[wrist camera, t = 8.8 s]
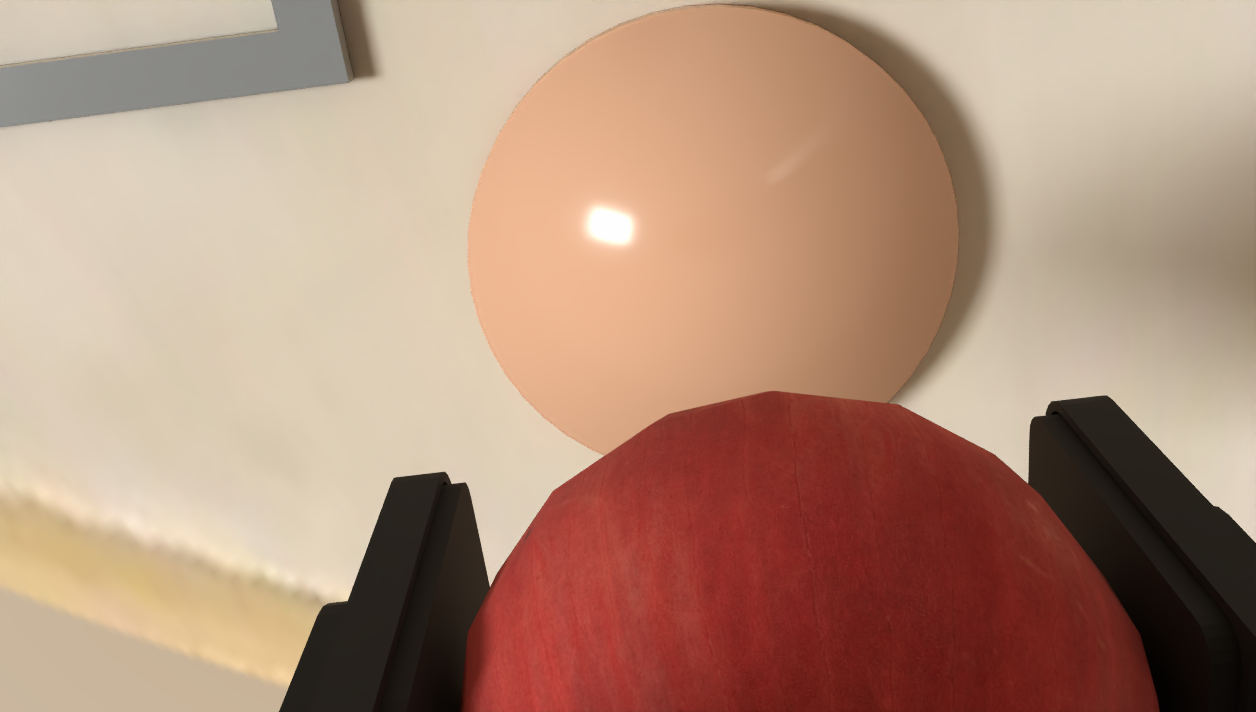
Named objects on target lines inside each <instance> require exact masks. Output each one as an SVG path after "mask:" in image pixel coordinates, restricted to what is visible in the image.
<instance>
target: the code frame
mask: <svg viewBox="0 0 1256 712" xmlns="http://www.w3.org/2000/svg"><path fill="white" fill-rule="evenodd" d="M271 2H272V6H273V10H274V14H275V18H276V22H277V26H278V29H275V30H268V31H260V32H253V33H245V34H237V35H230V36H222V37H215V38H207V39H199V40H192V41H184V42H177V43H169V44H161V45H154V46H146V47H138V48H131V49H123V50H116V51H108V52H100V53H93V54H85V55H78V56H70V57H62V58H55V59H47V60H40V61H32V62H24V63H17V64H9V65H2V66H0V127H7V126H15V125H22V124H30V123H38V122H46V121H53V120H61V119H69V118H77V117H85V116H92V115H100V114H108V113H116V112H123V111H131V110H139V109H147V108H154V107H162V106H170V105H178V104H186V103H193V102H201V101H209V100H217V99H224V98H232V97H240V96H248V95H255V94H263V93H271V92H279V91H287V90H294V89H302V88H310V87H318V86H325V85H333V84H341V83H349V82H350V81H351V80H353V79H354V76H353V72H352V67H351V63H350V58H349V54H348V49H347V45H346V40H345V36H344V31H343V27H342V22H341V18H340V13H339V9H338V4H337V0H271Z"/></svg>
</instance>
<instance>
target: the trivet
mask: <svg viewBox="0 0 1256 712" xmlns="http://www.w3.org/2000/svg"><path fill="white" fill-rule="evenodd" d="M958 244H959V227H958V213H957V203H956V198H955V193H954V189H953V184H952V180H951V175H950V172H949V169H948V166H947V164H946V161H945V158H944V156H943V153H942V150H941V148H940V145H939V143H938V141H937V139H936V137H935V136H934V134H933V132H932V130H931V128H930V126H929V125H928V123H927V121H926V119H925V117H924V116H923V114H922V113H921V112H920V110H919V109H918V108H917V106H916V105H915V104H914V102H913V101H912V100H911V98H910V97H909V96H908V95H907V93H906V92H905V91H904V89H903V88H902V87H900V86H899V85H898V84H897V83H896V82H895V81H894V80H893V79H892V78H891V77H890V76H889V75H888V74H887V73H886V72H885V71H884V70H883V69H882V68H881V67H880V66H879V65H878V64H876V63H875V62H874V61H872V60H871V59H870V58H868V57H867V56H866V55H864V54H863V53H862V52H860V51H859V50H858V49H856V48H855V47H854V46H852V45H851V44H850V43H848V42H847V41H845V40H844V39H842V38H840V37H838V36H836V35H834V34H832V33H831V32H829V31H827V30H825V29H823V28H821V27H819V26H818V25H815V24H813V23H810V22H807V21H804V20H802V19H799V18H796V17H794V16H791V15H788V14H785V13H781V12H776V11H772V10H767V9H762V8H758V7H753V6H740V5H727V4H710V5H693V6H683V7H678V8H673V9H668V10H663V11H658V12H653V13H650V14H647V15H644V16H641V17H638V18H635V19H632V20H629V21H626V22H623V23H621V24H618V25H616V26H614V27H612V28H610V29H608V30H607V31H605V32H603V33H601V34H599V35H597V36H595V37H593V38H591V39H589V40H588V41H586V42H585V43H583V44H582V45H580V46H579V47H577V48H576V49H574V50H573V51H572V52H570V53H569V54H567V55H566V56H564V57H563V58H562V59H561V60H559V61H558V62H557V63H556V64H555V65H554V66H553V67H552V68H551V69H549V70H548V71H547V72H546V73H545V74H544V75H543V76H542V77H541V78H540V79H538V81H537V82H536V83H535V84H534V85H533V86H532V88H531V89H530V90H529V91H528V92H527V94H526V95H525V96H524V97H523V98H522V100H521V101H520V102H519V103H518V104H517V106H516V107H515V109H514V111H513V112H512V114H511V115H510V117H509V118H508V120H507V122H506V123H505V125H504V126H503V128H502V129H501V131H500V133H499V135H498V137H497V139H496V141H495V144H494V146H493V148H492V150H491V152H490V155H489V157H488V159H487V161H486V163H485V166H484V168H483V170H482V173H481V176H480V180H479V183H478V186H477V190H476V193H475V196H474V200H473V205H472V211H471V218H470V224H469V231H468V268H469V276H470V284H471V292H472V296H473V300H474V304H475V308H476V311H477V315H478V319H479V322H480V325H481V327H482V329H483V332H484V334H485V337H486V339H487V341H488V344H489V346H490V349H491V350H492V352H493V354H494V356H495V357H496V359H497V361H498V362H499V364H500V366H501V367H502V369H503V371H504V373H505V374H506V376H507V377H508V378H509V379H510V381H511V382H512V383H513V385H514V386H515V387H516V388H517V390H518V391H519V392H520V394H521V395H522V396H523V397H524V398H525V399H526V400H527V401H528V402H529V403H530V404H531V405H532V406H533V407H534V408H535V409H536V410H537V411H538V412H539V413H540V414H541V415H542V416H543V417H544V418H545V419H546V420H548V421H549V422H550V423H551V424H553V425H554V426H555V427H557V428H558V429H559V430H561V431H562V432H563V433H564V434H566V435H567V436H569V437H571V438H572V439H574V440H576V441H577V442H579V443H581V444H582V445H584V446H586V447H587V448H589V449H591V450H593V451H595V452H597V453H600V454H602V455H604V456H605V455H607V454H608V453H610V452H611V451H613V450H614V449H615V448H617V447H618V446H620V445H621V444H623V443H624V442H626V441H627V440H629V439H630V438H632V437H633V436H635V435H636V434H637V433H639V432H640V431H642V430H643V429H645V428H646V427H648V426H649V425H651V424H652V423H654V422H656V421H657V420H659V419H661V418H663V417H664V416H666V415H668V414H670V413H674V412H679V411H683V410H687V409H692V408H696V407H700V406H705V405H709V404H714V403H718V402H722V401H727V400H731V399H736V398H740V397H744V396H749V395H753V394H757V393H762V392H766V391H781V392H790V393H799V394H808V395H817V396H826V397H836V398H845V399H854V400H863V401H872V402H881V403H887V402H889V401H890V400H891V399H892V398H893V396H894V395H895V394H896V393H897V392H898V391H899V389H900V388H901V387H902V386H903V385H904V384H905V383H906V381H907V380H908V379H909V378H910V377H911V375H912V374H913V372H914V371H915V369H916V368H917V366H918V365H919V363H920V362H921V360H922V359H923V357H924V356H925V354H926V353H927V351H928V349H929V347H930V345H931V343H932V341H933V339H934V337H935V335H936V333H937V331H938V329H939V327H940V325H941V323H942V320H943V317H944V314H945V311H946V309H947V306H948V303H949V300H950V297H951V293H952V288H953V283H954V278H955V274H956V269H957V260H958Z"/></svg>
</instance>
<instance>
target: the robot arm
mask: <svg viewBox="0 0 1256 712" xmlns="http://www.w3.org/2000/svg"><path fill="white" fill-rule="evenodd" d="M1028 484H1029V485H1030V486H1031V487H1032V488H1033V489H1034V490H1036V491H1037V492H1038V493H1039V494H1040V495H1041V496H1042V497H1043V499H1044V500H1045V501H1046V503H1047V504H1048V505H1049V506H1050V508H1051V509H1052V510H1053V512H1054V513H1055V514H1056V515H1057V517H1058V518H1059V519H1060V520H1061V522H1062V523H1063V524H1064V526H1065V527H1066V528H1067V529H1068V531H1069V532H1070V533H1071V534H1072V536H1073V537H1074V538H1075V540H1076V541H1077V542H1078V543H1079V545H1080V546H1081V547H1082V549H1083V550H1084V551H1085V552H1086V554H1087V555H1088V556H1089V557H1090V559H1091V560H1092V561H1093V563H1094V564H1095V565H1096V566H1097V568H1098V569H1099V570H1100V572H1101V573H1102V574H1103V575H1104V577H1105V578H1106V580H1107V582H1108V583H1109V585H1110V586H1111V588H1112V590H1113V591H1114V593H1115V594H1116V596H1117V598H1118V599H1119V601H1120V603H1121V604H1122V606H1123V607H1124V609H1125V611H1126V612H1127V614H1128V615H1129V617H1130V619H1131V620H1132V622H1133V624H1134V625H1135V627H1136V628H1137V630H1138V632H1139V633H1140V635H1141V639H1142V642H1143V646H1144V650H1145V654H1146V657H1147V661H1148V665H1149V668H1150V672H1151V676H1152V680H1153V683H1154V687H1155V691H1156V694H1157V698H1158V704H1159V710H1160V712H1256V543H1255V542H1254V541H1253V540H1252V539H1251V538H1250V537H1249V535H1248V534H1247V533H1246V532H1245V531H1244V530H1243V529H1242V528H1241V527H1240V526H1239V525H1238V524H1237V523H1236V522H1235V521H1234V520H1233V519H1232V518H1231V517H1230V516H1229V515H1228V514H1227V513H1226V512H1224V511H1223V510H1222V509H1220V508H1219V507H1216V506H1213V505H1212V504H1211V503H1210V502H1209V501H1208V500H1207V499H1206V498H1205V497H1204V496H1203V495H1202V494H1201V493H1200V492H1199V491H1198V489H1197V488H1196V487H1195V486H1194V485H1193V484H1192V483H1191V482H1190V481H1189V480H1188V479H1187V478H1186V477H1185V476H1184V475H1183V474H1182V473H1181V472H1180V470H1179V469H1178V468H1177V467H1176V466H1175V465H1174V464H1173V463H1172V462H1171V461H1170V460H1169V459H1168V458H1167V457H1166V456H1165V455H1164V454H1163V453H1162V451H1161V450H1160V449H1159V448H1158V447H1157V446H1156V445H1155V444H1154V443H1153V442H1152V441H1151V440H1150V439H1149V438H1148V437H1147V436H1146V435H1145V434H1144V432H1143V431H1142V430H1141V429H1140V428H1139V427H1138V426H1137V425H1136V424H1135V423H1134V422H1133V421H1132V420H1131V419H1130V418H1129V417H1128V416H1127V415H1126V414H1125V412H1124V411H1123V410H1122V409H1121V408H1120V407H1119V406H1118V405H1117V404H1116V403H1115V402H1114V401H1113V400H1112V399H1111V398H1110V397H1108V396H1095V397H1087V398H1078V399H1069V400H1061V401H1052V402H1051V403H1050V404H1049V405H1048V408H1047V411H1046V416H1038V417H1034V418H1033V419H1032V421H1031V424H1030V437H1029V480H1028ZM489 589H490V586H489V581H488V576H487V571H486V567H485V562H484V557H483V552H482V548H481V543H480V538H479V533H478V529H477V524H476V519H475V514H474V510H473V505H472V500H471V496H470V492H469V489H468V486H467V484H466V483H457V484H451V481H450V479H449V477H448V475H447V473H446V472H439V473H430V474H421V475H413V476H404V477H396V478H394V479H393V481H392V482H391V485H390V488H389V490H388V493H387V496H386V498H385V501H384V504H383V507H382V509H381V512H380V515H379V518H378V520H377V523H376V526H375V528H374V531H373V534H372V537H371V539H370V542H369V545H368V548H367V550H366V553H365V556H364V558H363V561H362V564H361V567H360V569H359V572H358V575H357V577H356V580H355V583H354V586H353V588H352V591H351V594H350V597H349V599H348V601H345V602H336V603H329V604H327V605H325V606H323V607H322V609H321V611H320V612H319V614H318V616H317V618H316V621H315V623H314V626H313V628H312V631H311V633H310V636H309V638H308V641H307V643H306V646H305V648H304V651H303V653H302V656H301V658H300V661H299V663H298V666H297V668H296V671H295V673H294V676H293V678H292V681H291V683H290V686H289V688H288V691H287V693H286V696H285V698H284V701H283V703H282V706H281V708H280V711H279V712H459V706H460V697H461V688H462V680H463V671H464V662H465V654H466V645H467V636H468V631H469V629H470V627H471V625H472V623H473V621H474V619H475V617H476V615H477V613H478V611H479V609H480V607H481V605H482V603H483V601H484V599H485V597H486V595H487V593H488V591H489Z"/></svg>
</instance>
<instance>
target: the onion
mask: <svg viewBox="0 0 1256 712" xmlns="http://www.w3.org/2000/svg"><path fill="white" fill-rule="evenodd" d="M459 712H1160V710H1159V704H1158V698H1157V694H1156V691H1155V687H1154V683H1153V680H1152V676H1151V672H1150V668H1149V665H1148V661H1147V657H1146V654H1145V650H1144V646H1143V642H1142V639H1141V635H1140V633H1139V632H1138V630H1137V628H1136V627H1135V625H1134V624H1133V622H1132V620H1131V619H1130V617H1129V615H1128V614H1127V612H1126V611H1125V609H1124V607H1123V606H1122V604H1121V603H1120V601H1119V599H1118V598H1117V596H1116V594H1115V593H1114V591H1113V590H1112V588H1111V586H1110V585H1109V583H1108V582H1107V580H1106V578H1105V577H1104V575H1103V574H1102V573H1101V572H1100V570H1099V569H1098V568H1097V566H1096V565H1095V564H1094V563H1093V561H1092V560H1091V559H1090V557H1089V556H1088V555H1087V554H1086V552H1085V551H1084V550H1083V549H1082V547H1081V546H1080V545H1079V543H1078V542H1077V541H1076V540H1075V538H1074V537H1073V536H1072V534H1071V533H1070V532H1069V531H1068V529H1067V528H1066V527H1065V526H1064V524H1063V523H1062V522H1061V520H1060V519H1059V518H1058V517H1057V515H1056V514H1055V513H1054V512H1053V510H1052V509H1051V508H1050V506H1049V505H1048V504H1047V503H1046V501H1045V500H1044V499H1043V497H1042V496H1041V495H1040V494H1039V493H1038V492H1037V491H1036V490H1034V489H1033V488H1032V487H1031V486H1030V485H1029V484H1028V483H1026V482H1025V481H1024V480H1023V479H1022V478H1021V477H1020V476H1018V475H1017V474H1016V473H1015V472H1014V471H1013V470H1012V469H1011V468H1009V467H1008V466H1007V465H1006V464H1005V463H1004V462H1003V461H1001V460H1000V459H999V458H998V457H997V456H996V455H994V454H993V453H991V452H989V451H987V450H985V449H983V448H981V447H979V446H977V445H975V444H973V443H971V442H969V441H968V440H966V439H964V438H962V437H960V436H958V435H956V434H954V433H952V432H950V431H948V430H946V429H944V428H943V427H941V426H939V425H937V424H935V423H933V422H931V421H929V420H927V419H925V418H923V417H921V416H919V415H918V414H916V413H914V412H912V411H910V410H908V409H906V408H904V407H902V406H900V405H898V404H890V403H881V402H872V401H863V400H854V399H845V398H836V397H826V396H817V395H808V394H799V393H790V392H781V391H766V392H762V393H757V394H753V395H749V396H744V397H740V398H736V399H731V400H727V401H722V402H718V403H714V404H709V405H705V406H700V407H696V408H692V409H687V410H683V411H679V412H674V413H670V414H668V415H666V416H664V417H663V418H661V419H659V420H657V421H656V422H654V423H652V424H651V425H649V426H648V427H646V428H645V429H643V430H642V431H640V432H639V433H637V434H636V435H635V436H633V437H632V438H630V439H629V440H627V441H626V442H624V443H623V444H621V445H620V446H618V447H617V448H615V449H614V450H613V451H611V452H610V453H608V454H607V455H605V456H604V457H602V458H601V459H599V460H598V461H596V462H595V463H593V464H592V465H590V466H589V467H588V468H586V469H585V470H583V471H582V472H580V473H579V474H577V475H576V476H574V477H573V478H571V479H570V480H568V481H567V482H566V483H564V484H563V485H561V486H560V487H558V488H557V489H555V490H554V491H553V492H552V493H551V495H550V496H549V498H548V499H547V501H546V502H545V504H544V505H543V506H542V508H541V509H540V511H539V512H538V514H537V515H536V517H535V518H534V520H533V521H532V523H531V524H530V526H529V527H528V529H527V530H526V532H525V533H524V534H523V536H522V537H521V539H520V540H519V542H518V543H517V545H516V546H515V548H514V549H513V551H512V552H511V554H510V555H509V557H508V558H507V560H506V561H505V563H504V564H503V565H502V567H501V568H500V570H499V571H498V573H497V575H496V577H495V579H494V581H493V583H492V585H491V587H490V589H489V591H488V593H487V595H486V597H485V599H484V601H483V603H482V605H481V607H480V609H479V611H478V613H477V615H476V617H475V619H474V621H473V623H472V625H471V627H470V629H469V631H468V636H467V645H466V654H465V662H464V671H463V680H462V688H461V697H460V706H459Z"/></svg>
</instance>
